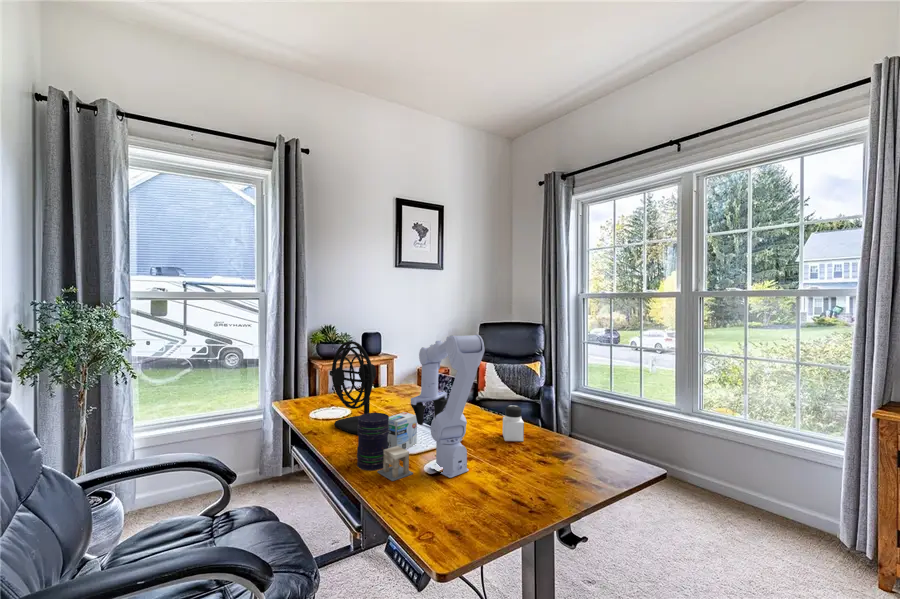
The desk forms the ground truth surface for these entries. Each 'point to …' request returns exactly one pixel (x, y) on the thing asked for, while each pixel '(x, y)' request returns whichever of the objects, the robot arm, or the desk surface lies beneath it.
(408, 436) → the light bulb box
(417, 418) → the robot arm
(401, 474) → the mat
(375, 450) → the storage jar
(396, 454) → the stool
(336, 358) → the desk fan
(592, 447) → the desk surface
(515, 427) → the medicine bottle
